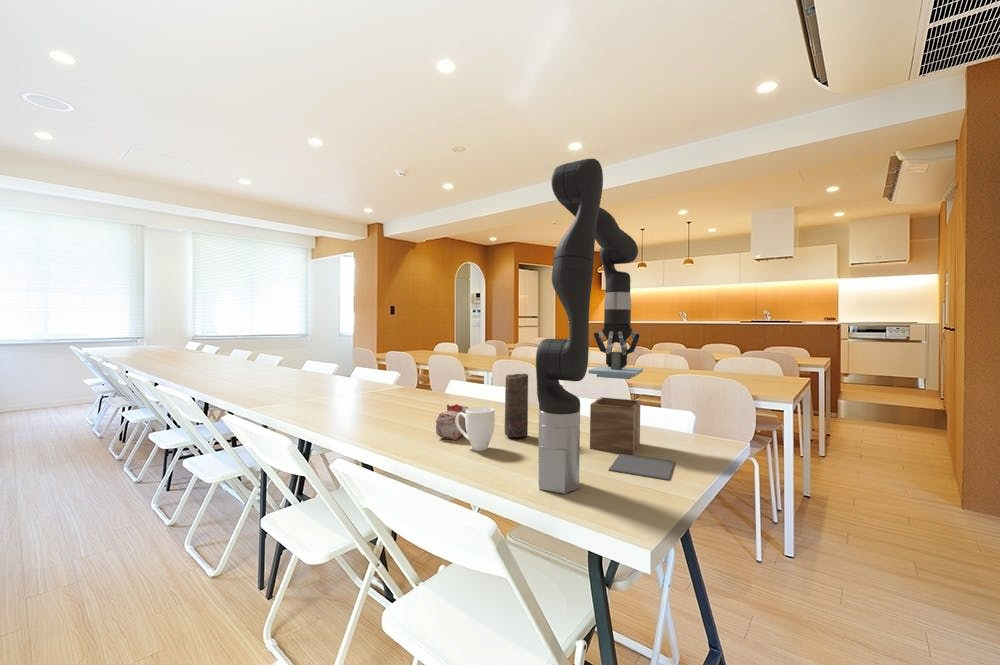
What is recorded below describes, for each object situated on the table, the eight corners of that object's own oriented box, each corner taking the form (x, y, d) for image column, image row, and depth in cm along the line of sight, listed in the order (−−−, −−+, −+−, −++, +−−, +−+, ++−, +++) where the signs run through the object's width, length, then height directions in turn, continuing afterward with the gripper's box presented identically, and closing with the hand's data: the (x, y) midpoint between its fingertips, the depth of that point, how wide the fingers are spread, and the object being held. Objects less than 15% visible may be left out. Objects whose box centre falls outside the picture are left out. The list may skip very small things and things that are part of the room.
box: (632, 454, 121) (633, 408, 121) (589, 448, 127) (590, 404, 126) (639, 443, 132) (640, 400, 131) (600, 438, 137) (600, 397, 137)
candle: (528, 440, 135) (528, 375, 134) (504, 440, 135) (504, 375, 134) (527, 433, 142) (527, 372, 141) (504, 433, 142) (504, 372, 141)
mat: (668, 480, 102) (668, 478, 102) (608, 470, 109) (608, 469, 109) (674, 462, 115) (674, 461, 115) (620, 454, 121) (620, 453, 121)
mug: (498, 446, 128) (499, 408, 128) (487, 454, 121) (487, 413, 120) (462, 441, 133) (462, 404, 133) (449, 449, 125) (448, 410, 125)
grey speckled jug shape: (458, 442, 133) (457, 409, 133) (433, 439, 135) (433, 408, 135) (473, 430, 146) (473, 401, 146) (450, 428, 148) (450, 400, 148)
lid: (635, 380, 120) (635, 354, 119) (588, 377, 126) (588, 352, 125) (642, 375, 131) (643, 351, 131) (599, 372, 137) (600, 349, 137)
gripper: (590, 308, 128) (589, 367, 128) (640, 307, 121) (639, 369, 122) (596, 308, 134) (596, 364, 135) (644, 308, 128) (643, 367, 128)
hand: (616, 366), depth 128 cm, fingers closed on lid, 3 cm apart
